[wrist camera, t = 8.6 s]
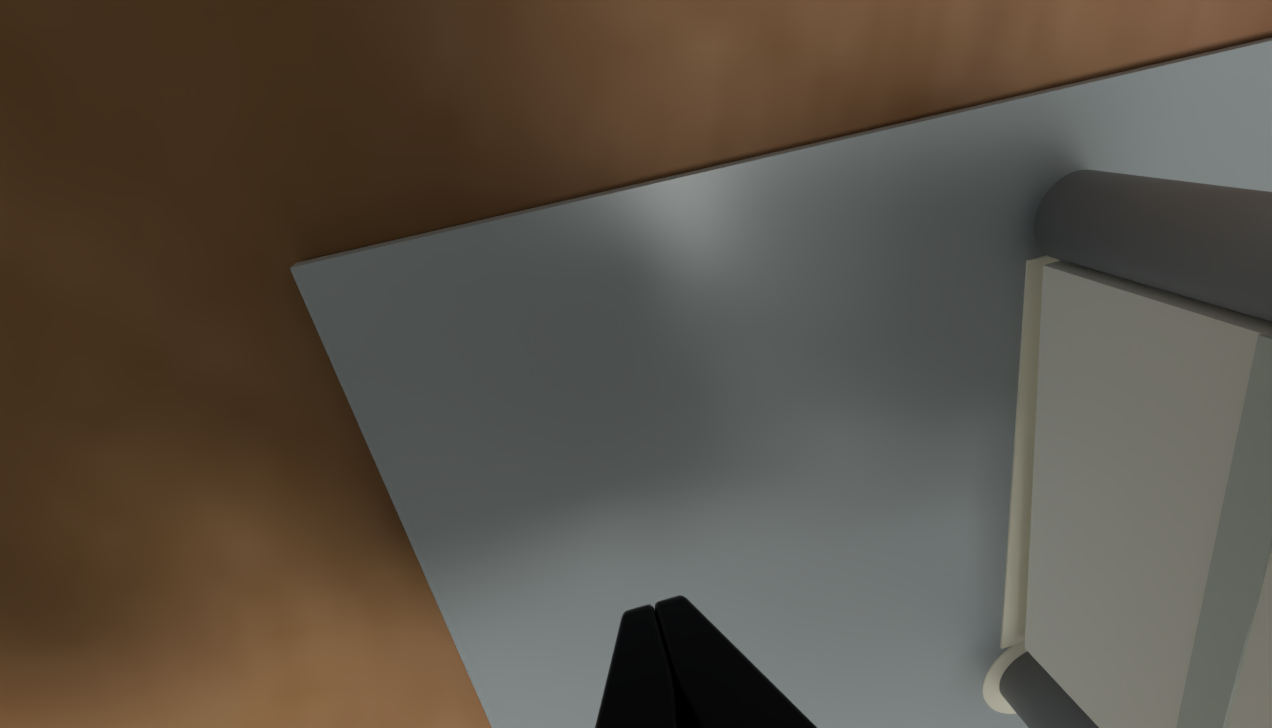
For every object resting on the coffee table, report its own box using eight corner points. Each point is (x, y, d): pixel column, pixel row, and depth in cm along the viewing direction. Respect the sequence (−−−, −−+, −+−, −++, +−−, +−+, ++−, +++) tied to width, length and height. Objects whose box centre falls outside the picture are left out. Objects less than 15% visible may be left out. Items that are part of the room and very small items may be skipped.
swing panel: (1073, 631, 14) (1331, 876, 10) (1016, 651, 14) (1251, 907, 10) (1117, 159, 10) (1623, 210, 5) (1035, 182, 10) (1481, 253, 5)
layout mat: (1706, -64, 11) (1743, -69, 10) (1411, 612, 17) (1428, 622, 17) (296, 262, 9) (288, 268, 8) (567, 888, 15) (569, 905, 15)
